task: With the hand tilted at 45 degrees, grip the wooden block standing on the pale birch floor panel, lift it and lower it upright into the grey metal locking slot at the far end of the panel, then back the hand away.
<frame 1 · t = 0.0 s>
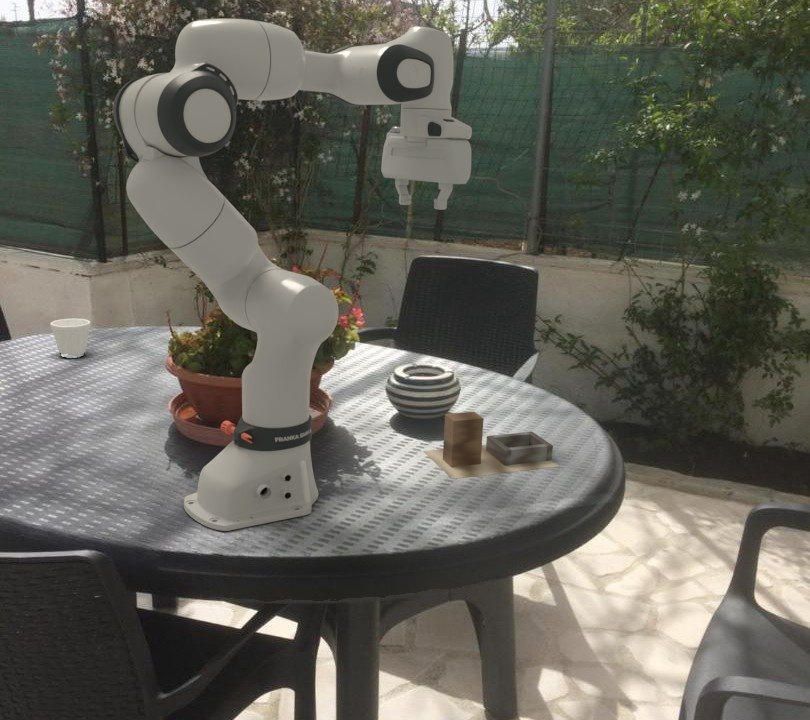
hand: (422, 207, 149), 48 cm above the table, tool pointing down, fingers open, 8 cm apart
floor panel: (489, 465, 159), on the table
cup: (72, 356, 223), on the table
wooden block: (461, 461, 156), point 1 cm above the table, touching floor panel
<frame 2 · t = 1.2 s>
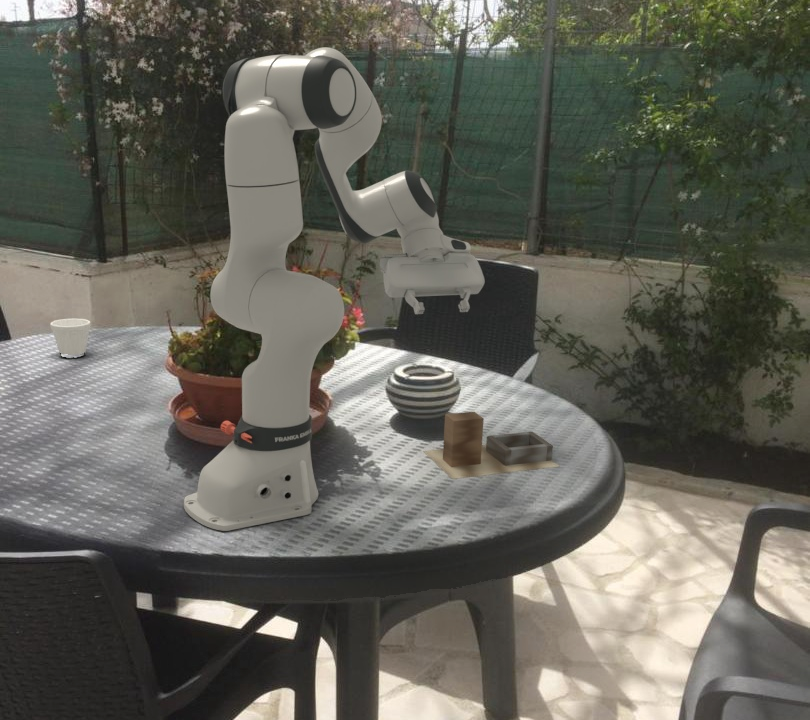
hand: (442, 311, 161), 28 cm above the table, tool tilted 45°, fingers open, 8 cm apart
nothing on the table moved.
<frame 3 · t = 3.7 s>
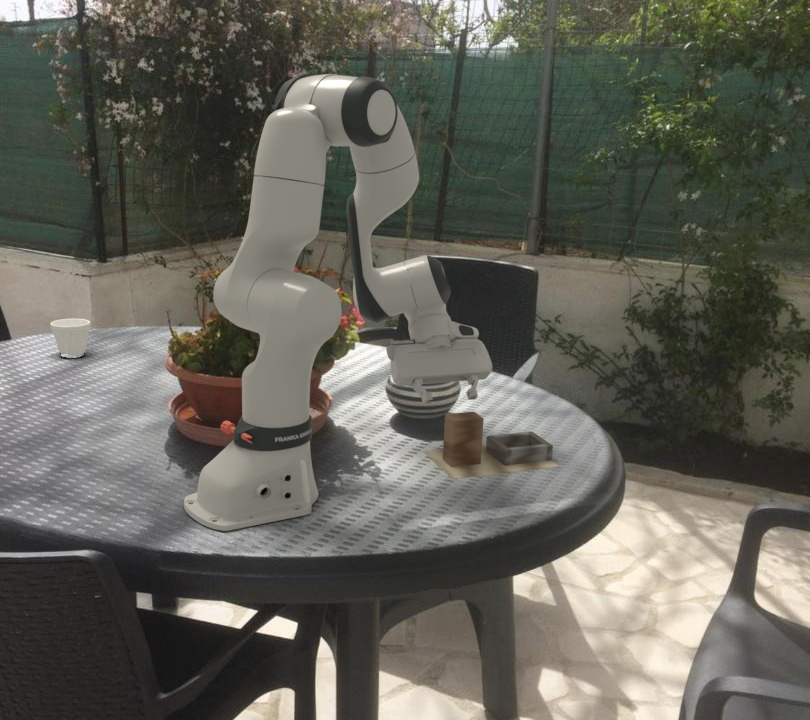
hand: (450, 400, 159), 12 cm above the table, tool tilted 45°, fingers open, 8 cm apart
nothing on the table moved.
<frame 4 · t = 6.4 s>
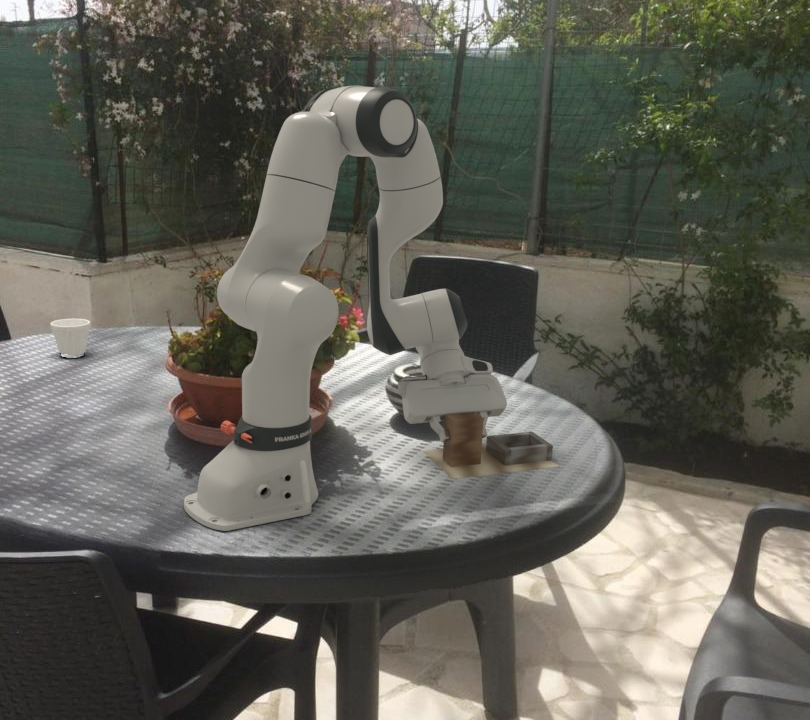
hand: (464, 438, 155), 6 cm above the table, tool tilted 45°, fingers closed on wooden block, 6 cm apart
wooden block: (461, 461, 156), point 2 cm above the table, touching floor panel, gripper
everything else where it was.
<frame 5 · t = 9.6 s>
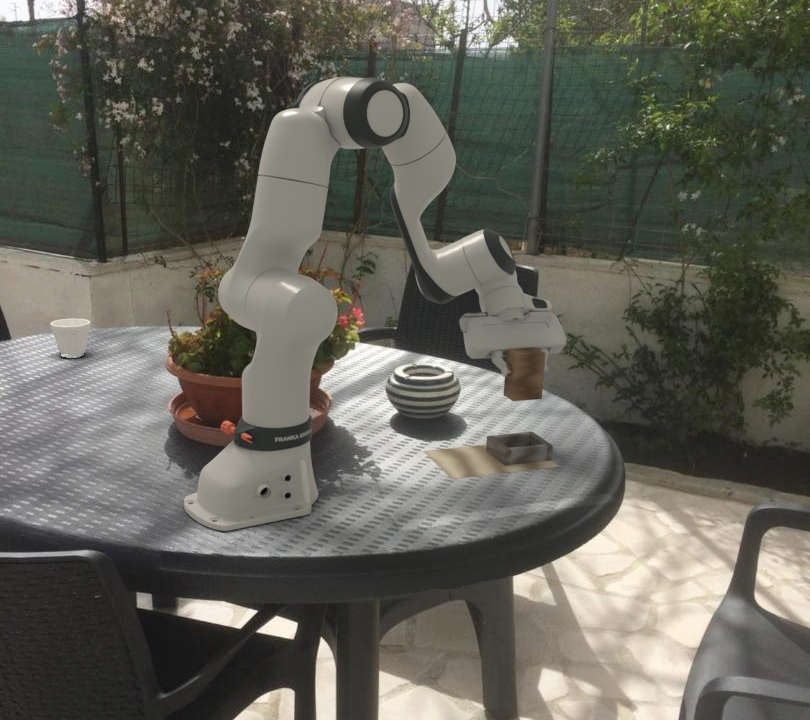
hand: (526, 373, 156), 18 cm above the table, tool tilted 45°, fingers closed on wooden block, 6 cm apart
wooden block: (522, 396, 158), point 13 cm above the table, touching gripper
everything else where it was.
when the fingers open (7 cm above the table, at t = 12.9 s): wooden block drops 1 cm, resting on floor panel.
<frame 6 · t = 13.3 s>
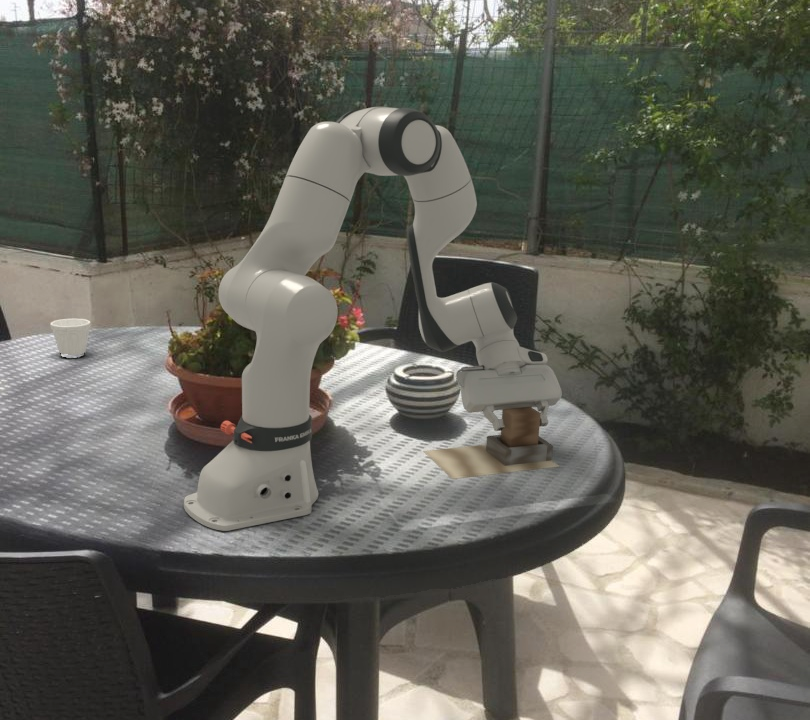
hand: (522, 427, 158), 7 cm above the table, tool tilted 45°, fingers open, 8 cm apart
wooden block: (518, 455, 161), point 1 cm above the table, touching floor panel
everything else where it was.
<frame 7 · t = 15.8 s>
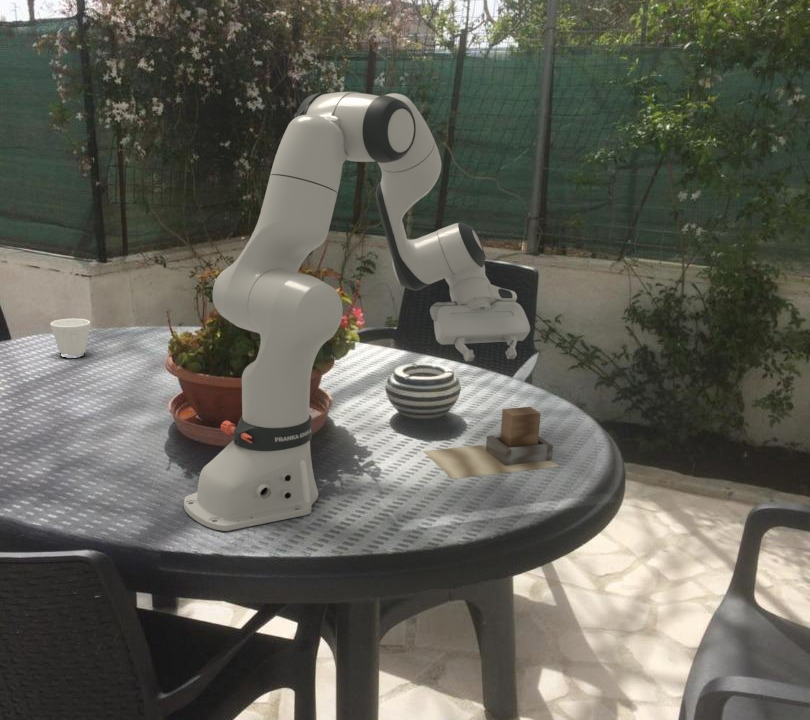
hand: (491, 358, 167), 18 cm above the table, tool tilted 45°, fingers open, 8 cm apart
nothing on the table moved.
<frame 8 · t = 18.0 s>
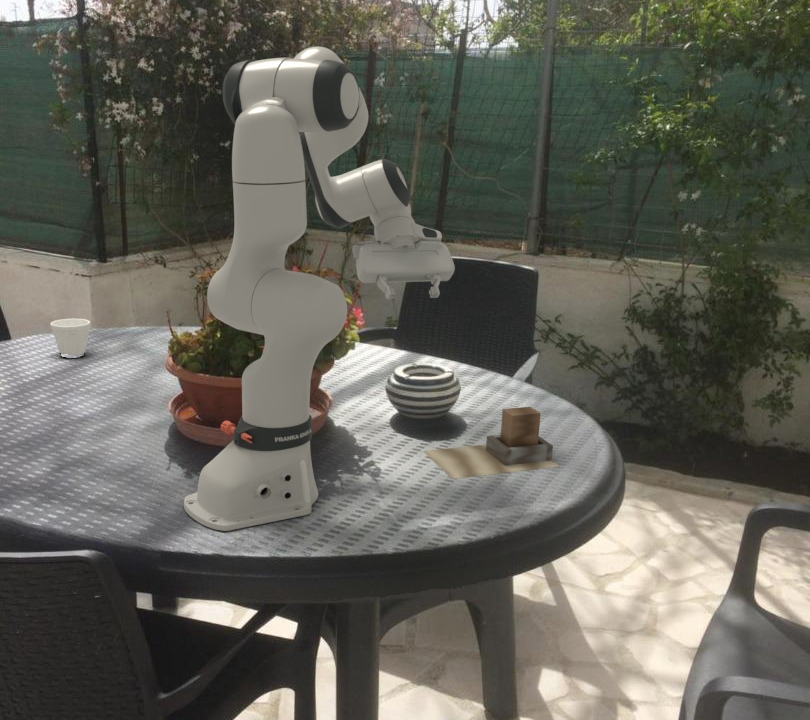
hand: (413, 296, 165), 29 cm above the table, tool tilted 45°, fingers open, 8 cm apart
nothing on the table moved.
at the end: wooden block 0.1 cm from the target spot, point 1.5 cm above the table; wooden block tilted 0°; the gripper is holding nothing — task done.
